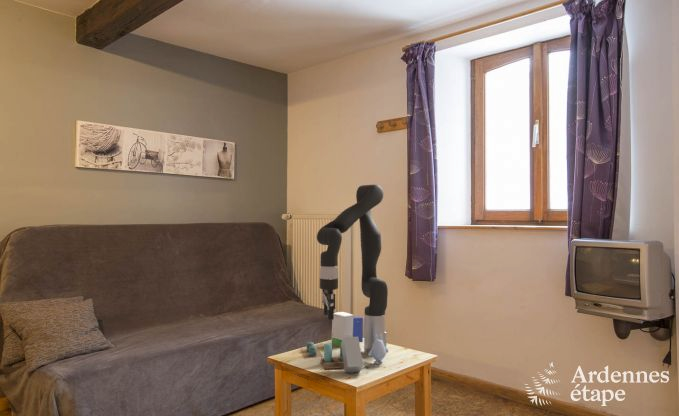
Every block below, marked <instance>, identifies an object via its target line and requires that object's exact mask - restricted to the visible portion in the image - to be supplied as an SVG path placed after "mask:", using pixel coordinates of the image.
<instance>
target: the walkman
mask: <svg viewBox="0 0 679 416" xmlns="http://www.w3.org/2000/svg"><path fill="white" fill-rule="evenodd" d="M363 331H364V317H363V316H360V315H358V316H353V337H358V338H359V343H364V342H363V341H364V339H363V338H364V337H363V336H364V332H363Z"/></svg>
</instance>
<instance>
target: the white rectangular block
mask: <svg viewBox="0 0 679 416" xmlns="http://www.w3.org/2000/svg"><path fill="white" fill-rule="evenodd" d="M341 347H342V355H343V362H344V366H343V367H344V369H343V370H344V374H349V373H360V372H362V368H364V364H363V356H362V351H361V346H360V342H359V338H358V337H344V338H343V340H342V342H341Z"/></svg>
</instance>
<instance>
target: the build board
mask: <svg viewBox="0 0 679 416" xmlns="http://www.w3.org/2000/svg"><path fill="white" fill-rule="evenodd" d="M320 362H321V364H322V366H323V367H324V368H323V370H324V371H337V370H345V369H344V362H343V355H342V347H341V343H340V346H339V356H332V362H327V363H324V357H320Z"/></svg>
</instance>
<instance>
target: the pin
mask: <svg viewBox="0 0 679 416" xmlns="http://www.w3.org/2000/svg"><path fill="white" fill-rule="evenodd" d="M323 347H324V348H323V358H324V363H327V362H332V357H333V344H331V343H324V344H323Z"/></svg>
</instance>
